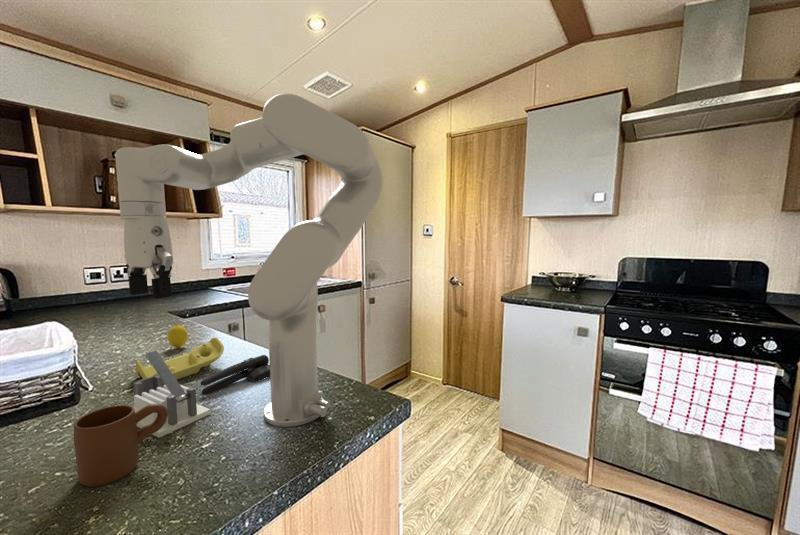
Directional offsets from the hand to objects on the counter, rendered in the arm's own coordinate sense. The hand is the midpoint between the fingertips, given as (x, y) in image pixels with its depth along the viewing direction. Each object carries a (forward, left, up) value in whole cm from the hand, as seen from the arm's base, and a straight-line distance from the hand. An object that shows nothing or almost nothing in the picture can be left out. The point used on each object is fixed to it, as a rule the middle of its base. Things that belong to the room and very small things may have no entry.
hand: (150, 295), depth 72 cm
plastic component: (+17, -14, -26) cm, 34 cm away
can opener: (-2, -18, -26) cm, 31 cm away
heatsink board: (-3, 0, -25) cm, 25 cm away
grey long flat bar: (-4, 0, -17) cm, 17 cm away
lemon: (+39, -25, -25) cm, 53 cm away
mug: (-15, +12, -25) cm, 32 cm away
